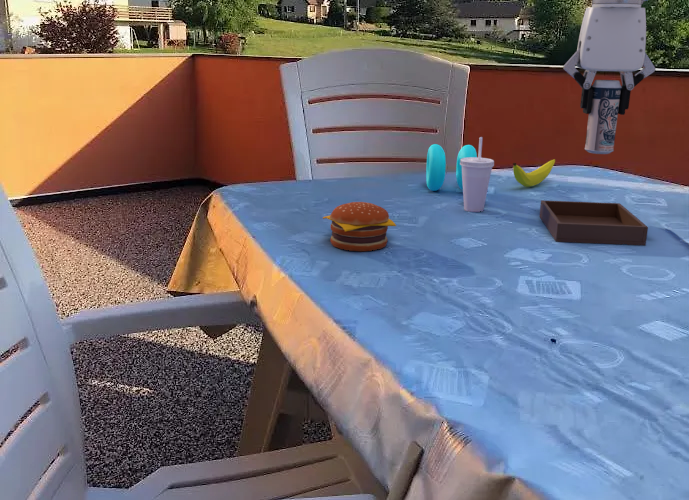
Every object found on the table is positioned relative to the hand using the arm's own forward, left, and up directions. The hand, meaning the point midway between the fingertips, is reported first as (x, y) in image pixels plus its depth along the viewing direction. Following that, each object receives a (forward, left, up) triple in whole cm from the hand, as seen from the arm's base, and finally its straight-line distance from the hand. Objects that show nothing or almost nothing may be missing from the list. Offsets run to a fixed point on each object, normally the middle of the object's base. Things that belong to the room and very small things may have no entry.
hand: (603, 112), depth 119 cm
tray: (0, +2, -20) cm, 20 cm away
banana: (+4, -36, -20) cm, 42 cm away
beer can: (0, 0, -7) cm, 7 cm away
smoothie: (+19, -10, -20) cm, 30 cm away
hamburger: (+39, +17, -20) cm, 47 cm away
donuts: (+23, -27, -20) cm, 41 cm away
